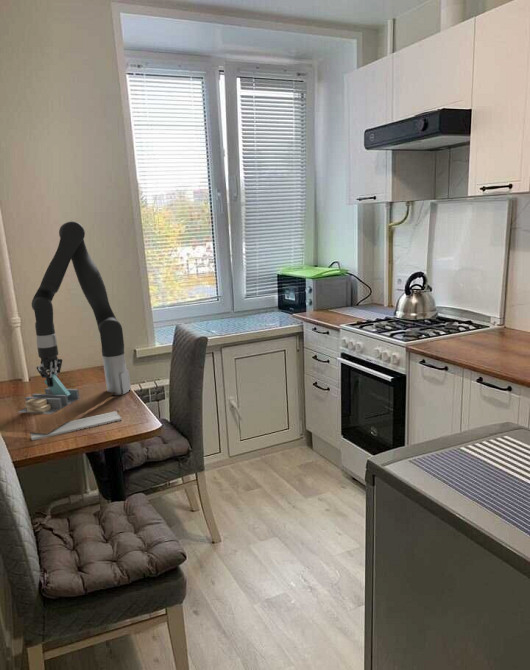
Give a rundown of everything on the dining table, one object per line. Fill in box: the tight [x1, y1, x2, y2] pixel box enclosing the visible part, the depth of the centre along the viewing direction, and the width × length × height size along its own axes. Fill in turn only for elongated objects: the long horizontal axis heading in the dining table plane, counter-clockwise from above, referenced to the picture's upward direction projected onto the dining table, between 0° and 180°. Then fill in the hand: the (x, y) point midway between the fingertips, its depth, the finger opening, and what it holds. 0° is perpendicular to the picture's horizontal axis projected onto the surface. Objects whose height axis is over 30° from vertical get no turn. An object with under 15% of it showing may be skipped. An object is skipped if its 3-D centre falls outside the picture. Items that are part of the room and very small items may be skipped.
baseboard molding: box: [29, 409, 122, 441], centre depth 188 cm, size 31×3×12 cm
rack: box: [18, 387, 81, 415], centre depth 207 cm, size 16×18×6 cm
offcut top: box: [24, 399, 47, 408], centre depth 201 cm, size 7×4×2 cm, turn 74°
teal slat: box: [43, 374, 70, 397], centre depth 210 cm, size 5×2×11 cm
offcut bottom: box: [26, 404, 51, 413], centre depth 201 cm, size 8×4×2 cm, turn 74°
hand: (52, 385), depth 210 cm, fingers closed on teal slat, 2 cm apart
